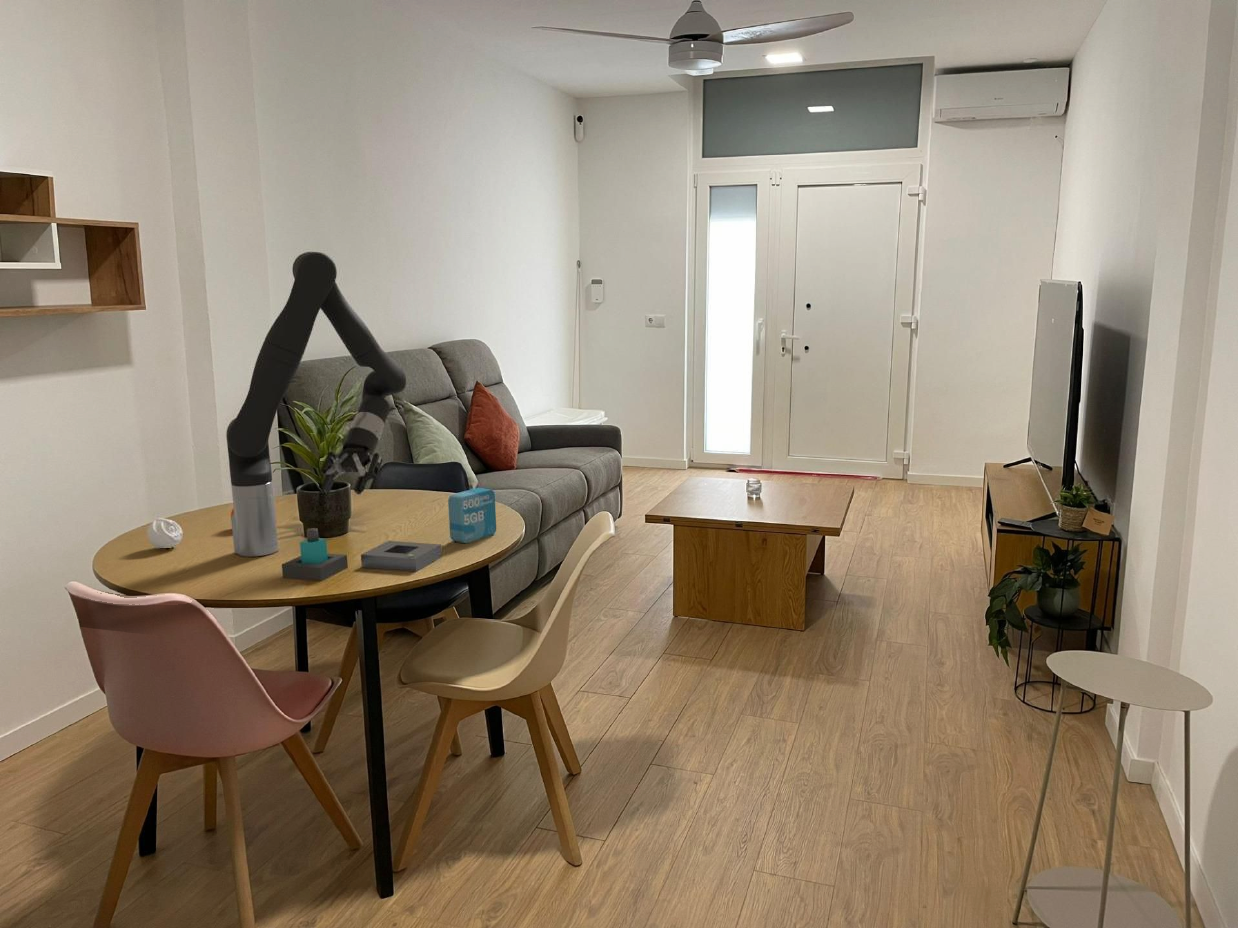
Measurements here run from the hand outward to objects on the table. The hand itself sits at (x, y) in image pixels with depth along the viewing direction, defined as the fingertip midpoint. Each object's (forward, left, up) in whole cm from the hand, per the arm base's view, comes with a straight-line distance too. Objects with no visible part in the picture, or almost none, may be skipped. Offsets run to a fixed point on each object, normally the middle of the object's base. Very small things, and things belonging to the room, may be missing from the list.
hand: (341, 491), depth 218 cm
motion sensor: (-49, -4, -16) cm, 52 cm away
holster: (0, -12, -16) cm, 20 cm away
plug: (0, -12, -16) cm, 20 cm away
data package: (+22, +23, -16) cm, 36 cm away
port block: (+15, 0, -16) cm, 22 cm away
